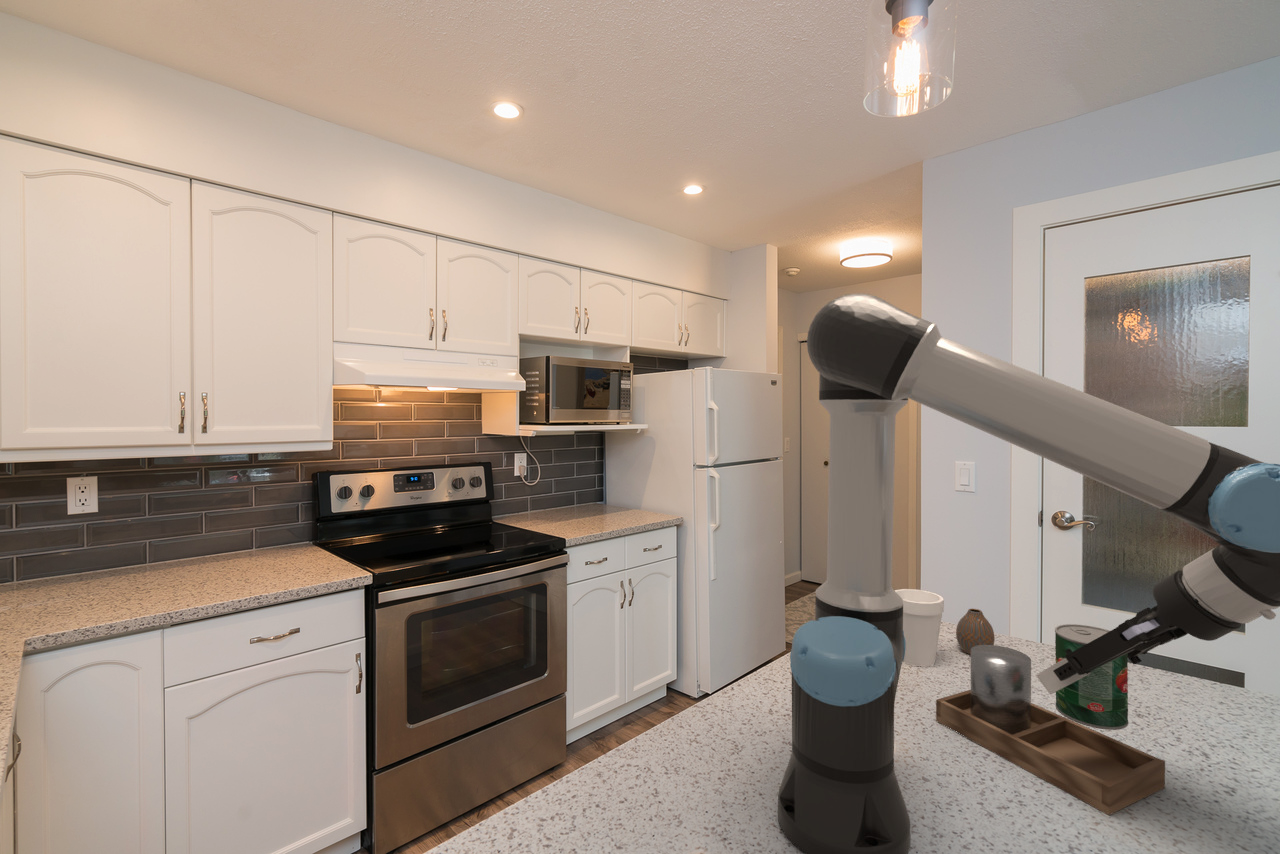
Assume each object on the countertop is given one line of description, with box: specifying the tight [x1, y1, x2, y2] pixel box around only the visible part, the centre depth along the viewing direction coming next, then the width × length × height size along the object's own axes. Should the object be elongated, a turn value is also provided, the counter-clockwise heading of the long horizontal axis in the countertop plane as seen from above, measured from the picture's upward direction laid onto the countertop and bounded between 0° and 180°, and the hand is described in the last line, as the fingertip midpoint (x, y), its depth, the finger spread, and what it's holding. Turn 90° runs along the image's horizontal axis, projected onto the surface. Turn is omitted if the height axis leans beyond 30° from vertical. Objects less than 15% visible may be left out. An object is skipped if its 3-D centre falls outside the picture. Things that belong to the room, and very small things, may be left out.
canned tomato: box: [1054, 623, 1129, 731], centre depth 80 cm, size 8×8×11 cm
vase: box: [955, 608, 996, 656], centre depth 121 cm, size 7×7×9 cm
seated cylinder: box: [970, 644, 1032, 735], centre depth 91 cm, size 8×8×11 cm
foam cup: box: [894, 588, 945, 668], centre depth 117 cm, size 10×9×13 cm
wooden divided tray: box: [935, 689, 1166, 816], centre depth 86 cm, size 24×13×4 cm, turn 24°
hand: (1063, 678), depth 83 cm, fingers closed on canned tomato, 8 cm apart
